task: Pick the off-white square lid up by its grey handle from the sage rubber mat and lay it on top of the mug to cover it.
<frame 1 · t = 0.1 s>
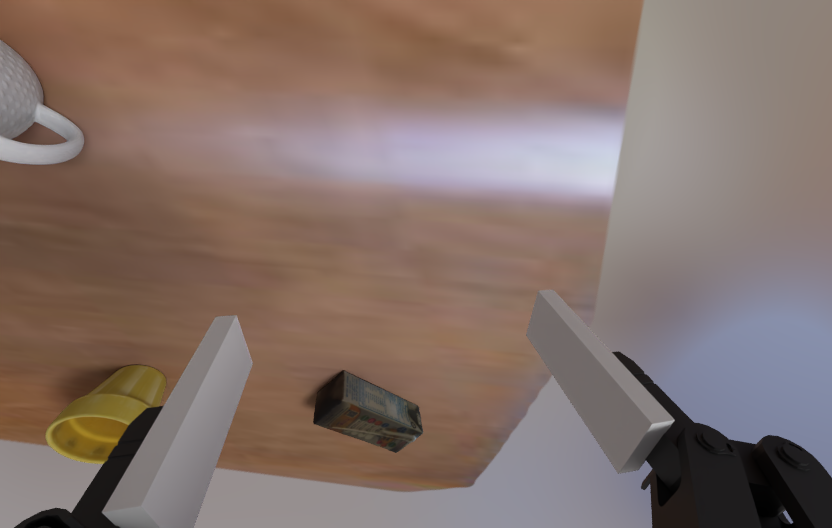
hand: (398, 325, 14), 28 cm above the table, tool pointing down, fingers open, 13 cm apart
plant pot: (142, 377, 48), on the table
beverage carton: (370, 398, 60), on the table
mug: (14, 86, 29), on the table
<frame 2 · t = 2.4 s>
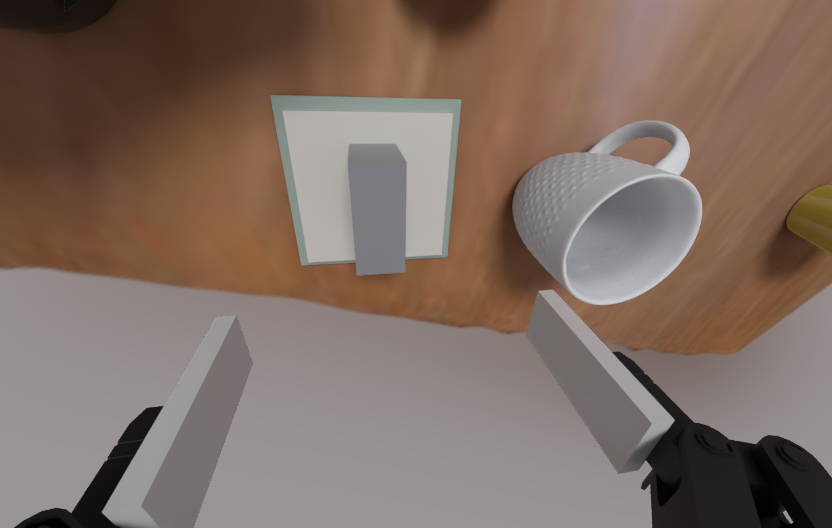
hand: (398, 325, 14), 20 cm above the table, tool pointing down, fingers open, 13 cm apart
lid: (373, 190, 31), resting on mat
plant pot: (807, 207, 42), on the table
mug: (549, 184, 34), on the table
mat: (373, 188, 31), on the table
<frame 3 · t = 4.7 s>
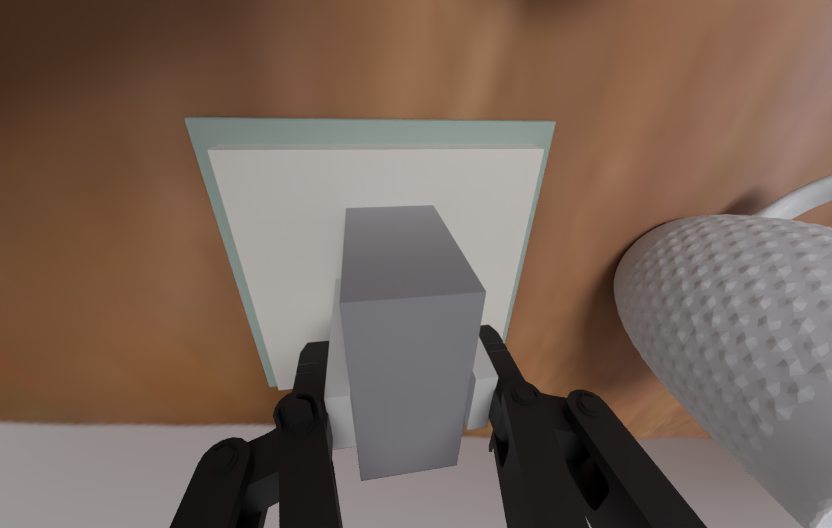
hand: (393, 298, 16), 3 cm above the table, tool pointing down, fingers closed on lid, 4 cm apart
lid: (389, 275, 18), resting on mat, touching gripper
mug: (669, 251, 21), on the table
mat: (388, 270, 18), on the table
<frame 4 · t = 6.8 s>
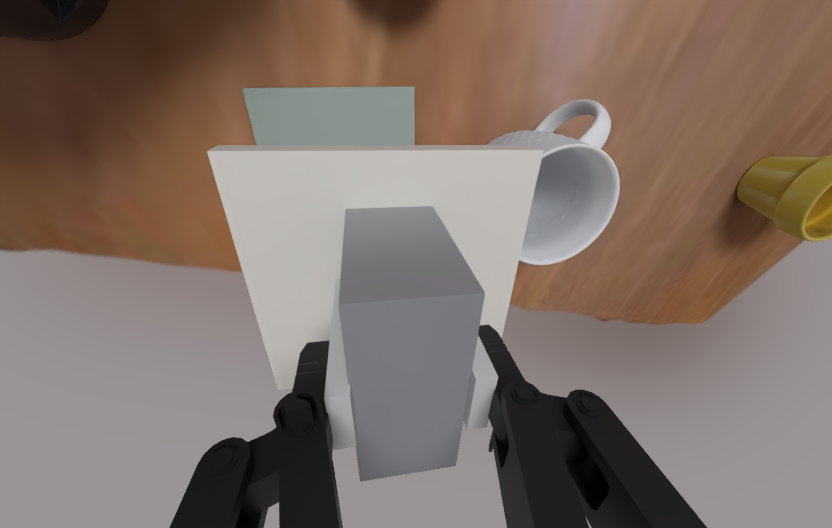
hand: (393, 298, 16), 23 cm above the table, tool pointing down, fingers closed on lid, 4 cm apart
lid: (389, 276, 18), point 21 cm above the table, touching gripper
plant pot: (756, 178, 45), on the table
mug: (504, 162, 37), on the table
mat: (342, 170, 34), on the table
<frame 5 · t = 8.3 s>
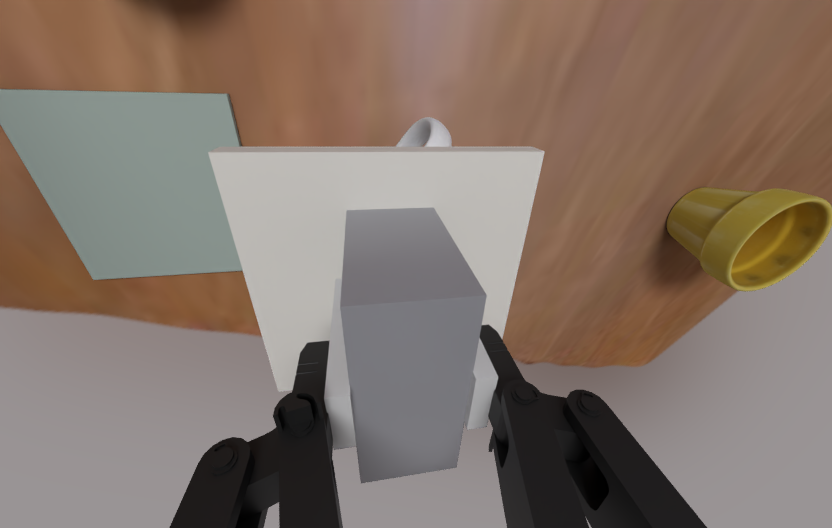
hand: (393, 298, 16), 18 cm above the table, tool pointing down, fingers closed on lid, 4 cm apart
lid: (389, 277, 18), point 16 cm above the table, touching gripper
plant pot: (688, 212, 39), on the table
mug: (372, 188, 31), on the table
mat: (156, 194, 28), on the table
when the fingers open (15 cm above the table, at t = 9.1 s): lid stays where it is, resting on mug.
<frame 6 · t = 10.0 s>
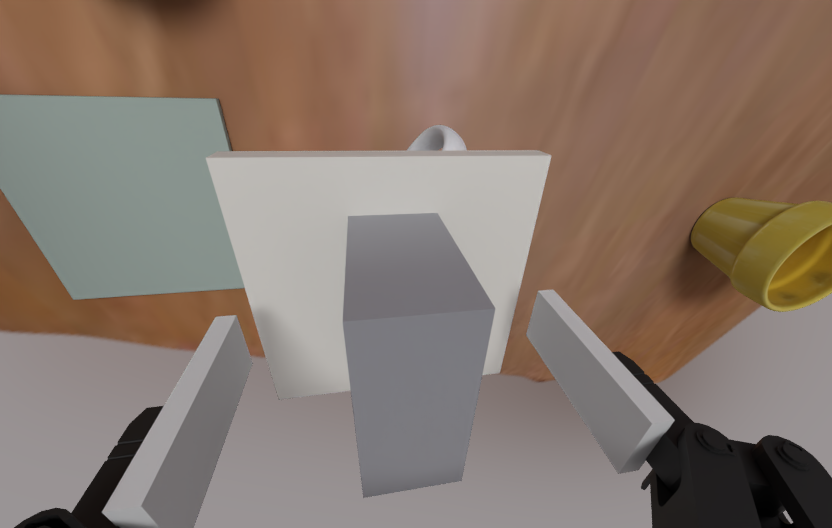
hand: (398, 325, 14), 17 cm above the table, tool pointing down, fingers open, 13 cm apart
lid: (392, 283, 17), point 13 cm above the table, touching mug
plant pot: (714, 223, 37), on the table
mug: (376, 200, 28), on the table, touching lid
mat: (140, 208, 25), on the table
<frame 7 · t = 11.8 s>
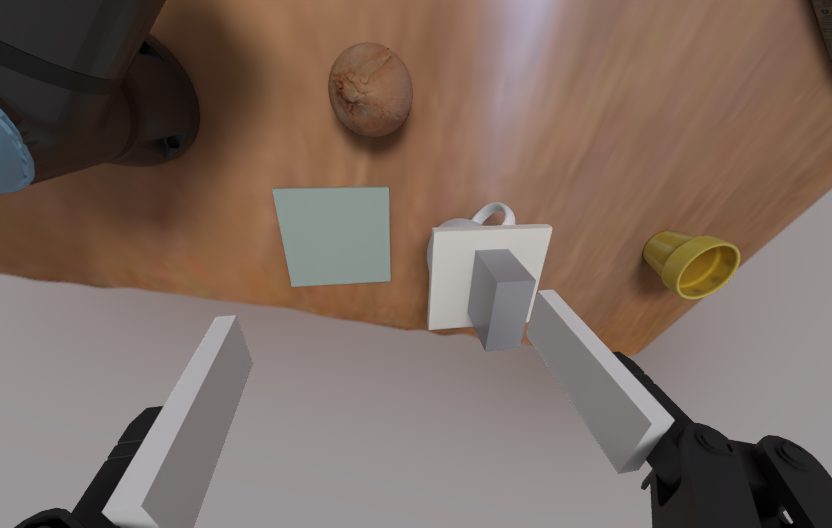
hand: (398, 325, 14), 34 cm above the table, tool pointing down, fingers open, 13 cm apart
lid: (483, 277, 40), point 13 cm above the table, touching mug
plant pot: (658, 246, 58), on the table
onion: (370, 92, 40), on the table
mug: (456, 233, 51), on the table, touching lid
mat: (337, 238, 48), on the table
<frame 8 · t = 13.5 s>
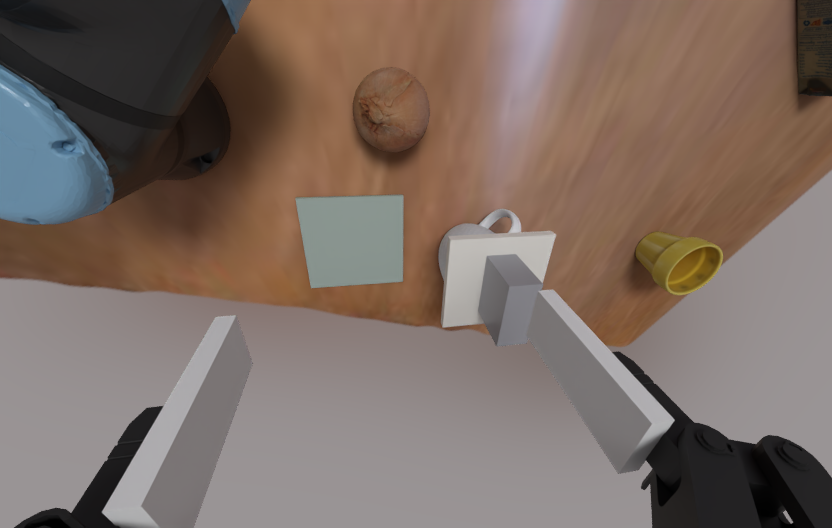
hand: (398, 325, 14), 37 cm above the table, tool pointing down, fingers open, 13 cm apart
lid: (492, 278, 44), point 13 cm above the table, touching mug
plant pot: (649, 245, 63), on the table
beverage carton: (818, 22, 47), on the table
onion: (388, 108, 43), on the table
mug: (464, 236, 55), on the table, touching lid
mat: (354, 243, 52), on the table
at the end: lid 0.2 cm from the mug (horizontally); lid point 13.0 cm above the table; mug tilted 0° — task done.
